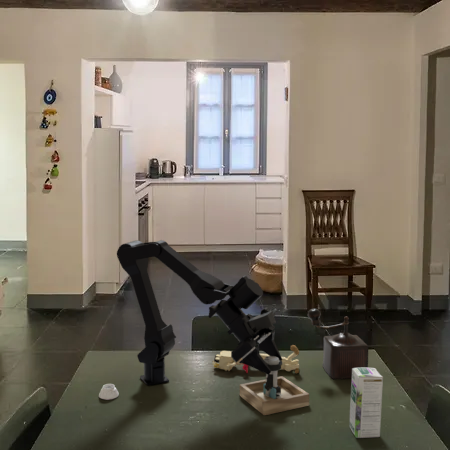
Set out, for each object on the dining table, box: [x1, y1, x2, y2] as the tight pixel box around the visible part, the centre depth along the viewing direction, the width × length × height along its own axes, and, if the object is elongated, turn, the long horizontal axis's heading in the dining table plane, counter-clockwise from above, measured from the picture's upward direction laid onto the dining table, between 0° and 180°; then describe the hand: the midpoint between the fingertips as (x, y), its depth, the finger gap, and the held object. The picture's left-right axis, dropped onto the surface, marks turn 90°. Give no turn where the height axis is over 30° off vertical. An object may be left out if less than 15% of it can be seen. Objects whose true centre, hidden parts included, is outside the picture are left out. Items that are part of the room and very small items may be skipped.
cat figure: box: [211, 344, 300, 374], centre depth 179 cm, size 10×9×25 cm
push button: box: [263, 356, 282, 399], centre depth 158 cm, size 7×5×10 cm
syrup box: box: [349, 366, 384, 439], centre depth 141 cm, size 6×6×14 cm
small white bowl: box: [98, 383, 120, 401], centre depth 161 cm, size 5×3×5 cm
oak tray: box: [239, 376, 310, 416], centre depth 158 cm, size 13×13×3 cm
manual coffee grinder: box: [307, 308, 369, 380], centre depth 177 cm, size 16×11×18 cm
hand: (275, 366), depth 157 cm, fingers open, 9 cm apart
